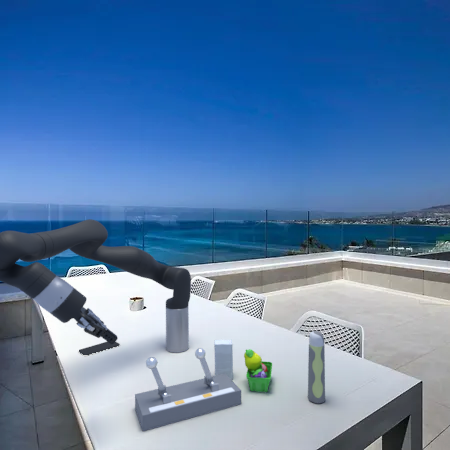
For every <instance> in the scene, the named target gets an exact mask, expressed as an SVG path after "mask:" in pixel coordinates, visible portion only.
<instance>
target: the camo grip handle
mask: <svg viewBox="0 0 450 450" xmlns="http://www.w3.org/2000/svg"><path fill="white" fill-rule="evenodd" d="M308 337H309V339H308V367H307V368H308V373H307V375H308V377H307V397H308V400H309V402H312V403H314V404H322V403H324V402H325V401H326V376H325V375H326V369H325V367H326V363H325V361H326V360H325V356H326V354H325V338H324V335H323V334H322V332H321V331H319V330H314V331H311V332H310V333H309V335H308Z"/></svg>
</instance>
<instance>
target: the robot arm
mask: <svg viewBox="0 0 450 450" xmlns="http://www.w3.org/2000/svg"><path fill="white" fill-rule="evenodd" d="M108 233H109V232H108V230H107V229H106V227H105V226H104V225H103V224H102V223H101V222H100V221H97V220H95V219H85V220H82V221H80V222H77V223H74V224H71V225H68V226H64V227H60V228H57V229H53V230H46V231H38V232H32V233H27V232H21V231H16V230H4V231H2V232H1V231H0V282H2V283H4V284H7V285H9V286H12V287H15V288H17V289H19V290H20V291H22V292H23V293H24V294H26V295H27V296H28V297H30V298H31V299H32V300H33V301H35V303H37V305H39V306H40V307H41V308H42V309H44V310H45V311H46V312H48V313H50V315H52V316H53V317H55V318H56V320H58V321H60V322H61V323H63V324H66V323H69V322H70V321H71V320H75V322H76V325H77V326H78V327H80V328H81V329H83V331H84V333H87V334H88V335H91V336H93V337H96V338H98V339H100V338H102V339H104V340H105V342H109V343H110V344H114V343H115V342H117V341H118V335H117V334H116V333H114V332H113V331H111V330H110V329H109V328H108V327H107V325H106V324H105V322H104V321H102V319H101V317H99V316H98V315H96V313H94V311H93V310H92V309H91V308H89V307H87V308H85V307H84V306H85V304H86V303H87V297H86V296H85V295H84V294H82V292H81V291H79V290H77V288H75V287H74V286H72V285H71V284H70V283H69V282H67V281H66V280H64V278H62V277H59V276H58V275H57V274H56V273H54V272H53V271H52V270H51V269H49V268H48V267H47V266H45V264H42V263H41V262H38V261H42V260H45V259H50V258H53V257H55V256H57V255H60V254H62V253H64V252H65V251H68V250H69V251H71V252H72V253H73V254H75V255H78V256H80V257H82V258H85V259H88V260H91V261H95V262H100V263H103V264H107V265H110V266H112V267H115V268H118V269H120V270H122V271H124V272H127V273H130V274H132V275H134V276H137V277H140V278H144V279H149V280H152V281H154V282H156V283H157V284H159V285H160V286H163V287H164V288H166V289H168V290H172V292H173V293H172V297H169V298H166V300H165V348H166V349H165V350H166V351H167V352H170V353H182V352H185V351H187V350H188V349H189V347H190V343H189V342H190V340H189V339H190V338H189V337H190V334H189V332H190V330H189V329H190V328H189V325H190V324H189V321H190V319H189V318H190V317H189V315H190V314H189V304H190V299H191V287H192V277H191V273H190V271H189V270H188V269H187V268H184V267H178V266H177V267H176V266H171V265H166V264H164V263H161V262H158V261H157V260H156V259H155V257H153V255H152V254H150V253H149V252H147V251H145V250H143V249H140V248H139V247H136V246H130V245H128V246H127V245H122V246H119V245H118V246H107V245H103V244H104V243H105V242H106V241H107V239H108V236H109V234H108ZM18 261H22V262H24V263H25V262H26V263H30V264H28V265H26V266H23V265H20V264H18V263H16V262H18Z"/></svg>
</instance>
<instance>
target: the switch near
mask: <svg viewBox="0 0 450 450" xmlns="http://www.w3.org/2000/svg"><path fill="white" fill-rule="evenodd" d="M145 366H146V368H147V369H149V370H150V371H151V373H152V375H153V377H154V380H155V383H156V385H157V388H158V387H159V390H160V394H161V396H162V398H163V396H165V395H168V394H167V392H166V389H165V387H164V385H165V384H164V382H163V379H162V377H161V375H160V373H159V370H158V368H157V366H158V359H157V358H155V357H154V356H151V357H148V358H147V360H146V361H145Z"/></svg>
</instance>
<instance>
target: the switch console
mask: <svg viewBox="0 0 450 450" xmlns="http://www.w3.org/2000/svg"><path fill="white" fill-rule="evenodd" d="M212 378H213V381H214V382H215V384H211V387H210V386H209V384H208V383H207V382H206V380H207V378H206V376H205V375H204V377H203V378H200V379H196V380H192V381H191V380H190V381H187V382H181V383H178V384H177V383H176V384H173V385H169V386H166V384H163V385H164V387H165V389H166V392H167V394H168V395H165V396H163V398H162V396H161V394H160V390H159V387H158V386H157V388H156V389H151V390H148V391H143V392H139V393H135V394H134V408H135V412H136V415H137V418H138V421H139V425H140V428H141V430H142V432H145V431H149V430H152V429H156V428H160V427H163V426H167V425H171V424H174V423H177V422H181V421H186V420H189V419H192V418H196V417H199V416H203V415H206V414H211V413H214V412H216V411H220V410H225V409H228V408H232V407H235V406H238V405H242V389H241V388H240V387H239V386H238V385H237V384H236V383H235V382H234V381H233V380H231V379H230V378H229V377H228V376H227V375H226V374H221V375H217V376H215V375H214V376H213V375H212Z"/></svg>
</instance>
